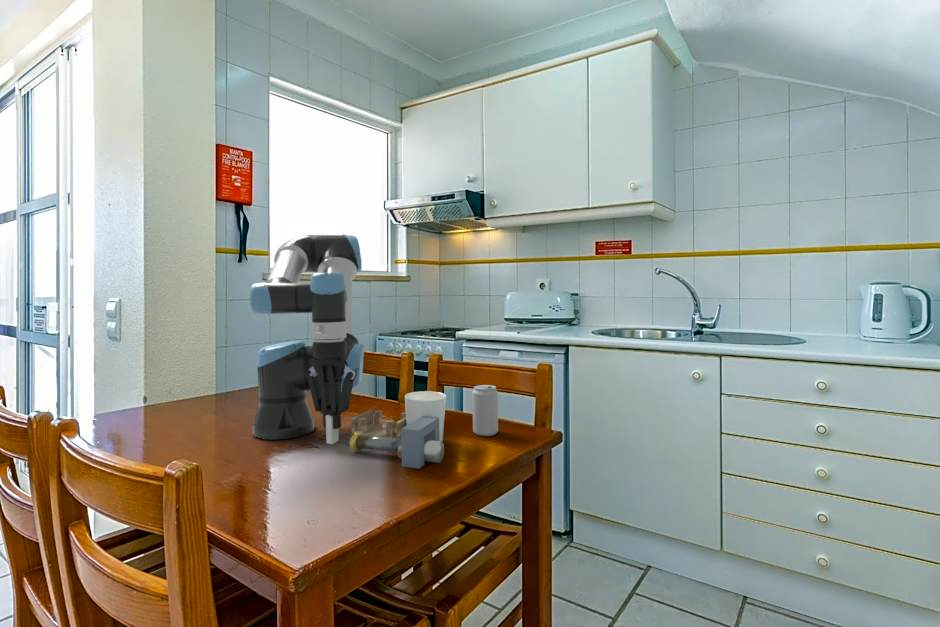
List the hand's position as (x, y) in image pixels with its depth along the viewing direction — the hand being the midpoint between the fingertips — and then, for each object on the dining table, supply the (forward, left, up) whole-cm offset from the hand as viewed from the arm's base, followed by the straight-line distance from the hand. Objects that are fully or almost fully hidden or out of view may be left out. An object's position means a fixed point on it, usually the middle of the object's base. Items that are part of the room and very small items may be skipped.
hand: (332, 441), depth 120 cm
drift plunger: (+11, 0, -2) cm, 12 cm away
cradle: (+8, +10, -2) cm, 13 cm away
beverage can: (+30, +23, -2) cm, 37 cm away
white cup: (+18, +11, -3) cm, 21 cm away
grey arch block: (+22, 0, -2) cm, 22 cm away
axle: (+22, 0, 0) cm, 22 cm away
